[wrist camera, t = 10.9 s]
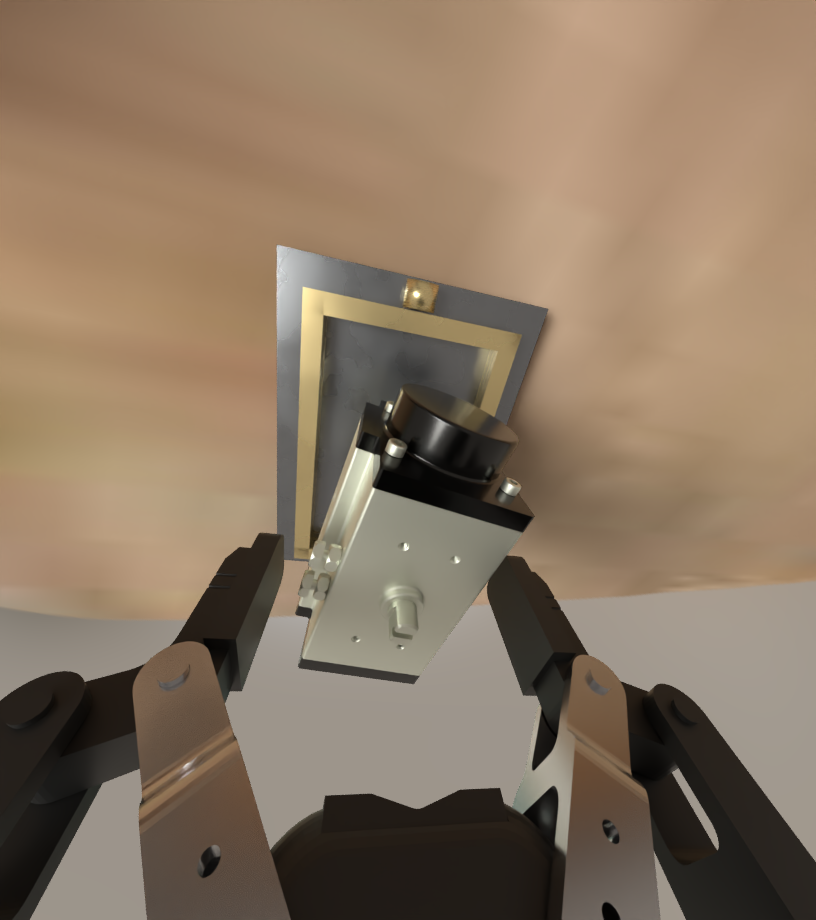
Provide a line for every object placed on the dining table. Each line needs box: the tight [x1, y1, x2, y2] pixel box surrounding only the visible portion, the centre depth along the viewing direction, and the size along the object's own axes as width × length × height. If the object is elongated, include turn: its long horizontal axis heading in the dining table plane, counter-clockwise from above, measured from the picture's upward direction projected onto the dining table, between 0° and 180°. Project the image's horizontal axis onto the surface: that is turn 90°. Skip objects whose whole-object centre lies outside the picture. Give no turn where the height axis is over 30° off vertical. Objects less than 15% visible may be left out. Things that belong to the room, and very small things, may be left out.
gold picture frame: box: [277, 245, 548, 562], centre depth 19 cm, size 20×14×3 cm
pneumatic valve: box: [295, 383, 535, 684], centre depth 14 cm, size 6×12×12 cm, turn 158°
